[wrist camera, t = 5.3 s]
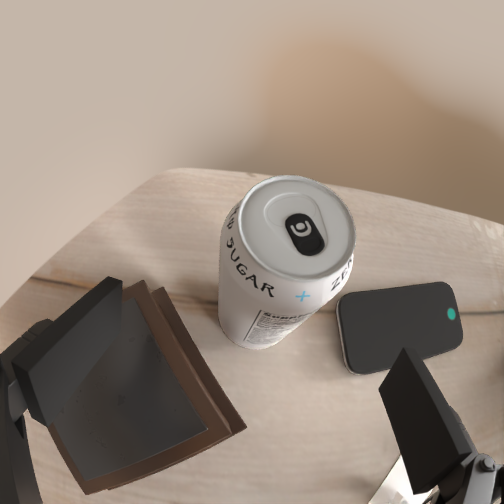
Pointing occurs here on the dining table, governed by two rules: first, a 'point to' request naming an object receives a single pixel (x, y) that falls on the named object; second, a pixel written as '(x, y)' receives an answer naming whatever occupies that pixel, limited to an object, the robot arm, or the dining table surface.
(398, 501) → the adhesive hook
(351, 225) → the energy drink can
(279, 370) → the dining table surface
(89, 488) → the stand
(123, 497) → the dining table surface
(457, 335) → the smartphone
